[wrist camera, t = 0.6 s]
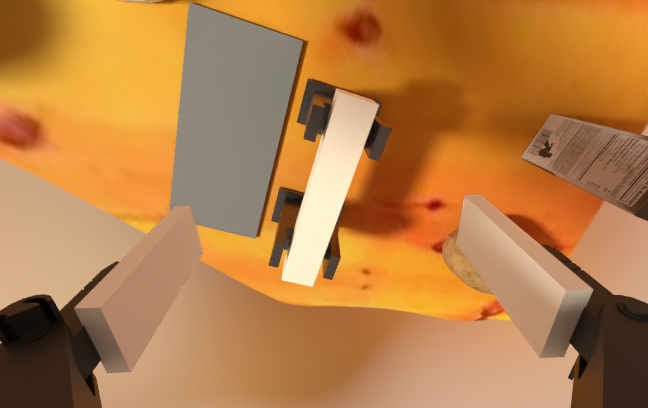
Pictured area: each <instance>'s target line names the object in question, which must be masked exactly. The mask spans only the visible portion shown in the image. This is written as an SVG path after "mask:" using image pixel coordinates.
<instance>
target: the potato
mask: <svg viewBox="0 0 648 408" xmlns="http://www.w3.org/2000/svg"><path fill="white" fill-rule="evenodd" d="M458 230H459V229H457V230H455V231H454V232H452V233H451V234H449V235H448V237H447V238H446V240H445V242H444V244H443V245H442V251H443V259H444V261H445V263H446V265H447V266H448V267H449V269H450V270H451V271H452V273H454V274H455V275H456V276H457V277H458V278H459V279H461V280H462V281H463V282H464V283H466V284H467V285H468V286H470V287H472V288H473V289H476V290H478V291H480V292H482V293H486V294H492V292H491V291H490V289H489V288H488V287H487V285H486V284H485V283H484V281H483V280H482V279H481V277H480V276H479V275H478V273H477V272H476V270H475V269H474V268H473V266H472V265H471V264H470V262H469V261H468V260H467V258H466V257H465V255H464V254H463V253H462V251H461V250H460V249H459V247H458V246H457V245H456V241H457V235H458Z"/></svg>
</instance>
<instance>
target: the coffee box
mask: <svg viewBox="0 0 648 408" xmlns="http://www.w3.org/2000/svg"><path fill="white" fill-rule="evenodd" d="M521 158H522V159H523V160H525V161H527V162H529V163H531V164H533V165H535V166H537V167H539V168H541V169H543V170H545V171H547V172H549V173H551V174H553V175H555V176H557V177H559V178H561V179H563V180H565V181H567V182H569V183H571V184H573V185H575V186H577V187H579V188H581V189H583V190H585V191H587V192H589V193H591V194H592V195H594V196H596V197H598V198H601V199H603V200H605V201H607V202H609V203H611V204H613V205H615V206H617V207H619V208H621V209H623V210H625V211H627V212H629V213H631V214H633V215H635V216H637V217H639V218H641V219H644V220H647V221H648V136H644V135H640V134H635V133H631V132H627V131H623V130H619V129H615V128H611V127H607V126H602V125H598V124H594V123H590V122H586V121H582V120H578V119H574V118H570V117H565V116H561V115H556V114H550V116H549V117H548V118H547V120H546V121H545V123H544V124H543V126H542V127H541V129H540V130H539V131H538V133H537V134H536V136H535V137H534V139H533V140H532V142H531V143H530V144H529V146H528V147H527V149H526V150H525V152H524V153H523V155H522V156H521Z"/></svg>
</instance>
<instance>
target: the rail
mask: <svg viewBox="0 0 648 408" xmlns="http://www.w3.org/2000/svg"><path fill="white" fill-rule="evenodd" d="M378 107H379V104H377V103H376V102H375V101H373V100H372V99H369V98H366V97H363V96H359V95H356V94H353V93H350V92H347V91H344V90H341V89H338V88H336V91H335V94H334V98H333V101H332V104H331V108H330V111H329V114H328V118H327V121H326V124H325V128H324V131H323V134H322V138H321V141H320V144H319V148H318V151H317V154H316V158H315V161H314V164H313V168H312V171H311V174H310V178H309V181H308V184H307V188H306V191H305V194H304V198H303V201H302V204H301V208H300V211H299V214H298V217H297V221H296V224H295V227H294V231H293V234H292V237H291V241H290V244H289V247H288V251H287V254H286V257H285V261H284V267H283V274H282V280H284V281H288V282H293V283H298V284H302V285H307V286H311V287H313V285H314V282H315V279H316V276H317V274H318V271H319V268H320V265H321V263H322V260H323V257H324V254H325V252H326V249H327V246H328V244H329V241H330V238H331V235H332V233H333V230H334V227H335V224H336V222H337V219H338V216H339V213H340V211H341V208H342V205H343V202H344V200H345V197H346V194H347V191H348V189H349V186H350V183H351V181H352V178H353V175H354V172H355V170H356V167H357V164H358V161H359V159H360V156H361V153H362V150H363V148H364V145H365V142H366V139H367V137H368V134H369V131H370V129H371V126H372V123H373V120H374V118H375V115H376V112H377V109H378Z"/></svg>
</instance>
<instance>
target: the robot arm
mask: <svg viewBox="0 0 648 408" xmlns="http://www.w3.org/2000/svg"><path fill="white" fill-rule="evenodd" d="M456 245H457V246H458V247H459V249H460V250H461V251H462V253H463V254H464V255H465V257H466V258H467V260H468V261H469V262H470V264H471V265H472V266H473V268H474V269H475V270H476V272H477V273H478V275H479V276H480V277H481V279H482V280H483V281H484V283H485V284H486V285H487V287H488V288H489V289H490V291H491V292H492V294H493V295H494V296H495V298H496V299H497V300H498V302H499V303H500V304H501V306H502V307H503V309H504V310H505V311H506V313H507V314H508V315H509V317H510V318H511V319H512V321H513V322H514V323H515V325H516V326H517V328H518V329H519V330H520V332H521V333H522V334H523V336H524V337H525V338H526V340H527V341H528V343H529V344H530V345H531V347H532V348H533V349H534V351H535V352H536V353H537V355H538V356H539V357H540V358H548V357H564V355H565V353H566V351H567V348H568V346H569V344H571V345H572V346H573V347H574V348H575V349H576V350H577V351H578V353H579V355H578V358H577V359H576V362H575V364H574V366H573V368H572V370H571V372H570V374H569V377H568V378H569V379H571V380H573V378H574V382H573V392H572V402H571V408H648V304H647V303H645V302H642V301H640V300H637V299H635V298H631V297H627V296H623V295H613V294H612V293H611V292H610V291H608V290H607V289H606V288H604V287H603V286H602V285H601V284H600V283H598V282H597V281H596V280H595V279H593V278H592V277H591V276H590V275H588V274H587V273H586V272H585V271H583V270H581V268H580V267H578V266H577V265H576V264H575V263H572V261H571V260H570V259H568V258H567V257H566V256H565V255H563V254H562V253H561V252H559V251H557V250H555V249H553V248H551V247H549V246H547V245H540V244H539V243H538V242H537V241H535V240H534V239H533V238H532V237H531V236H529V235H528V234H527V233H526V232H525V231H523V230H522V229H521V228H520V227H519V226H518V225H516V224H515V223H514V222H513V221H512V220H510V219H509V218H508V217H507V216H506V215H504V214H503V213H502V212H501V211H500V210H499V209H497V208H496V207H495V206H494V205H493V204H491V203H490V202H489V201H488V200H487V199H486V198H484V197H483V196H482V195H481V194H479V195H465V196H464V201H463V207H462V213H461V218H460V224H459V230H458V235H457V241H456ZM202 254H203V252H202V248H201V244H200V240H199V236H198V232H197V228H196V224H195V220H194V216H193V212H192V208H191V206H175V207H174V208H173V209H172V210H171V211H170V212H169V213H168V214H167V215H166V216H165V217H164V218H163V219H162V220H161V221H160V222H159V223H158V224H157V225H156V226H155V227H154V228H153V229H152V230H151V231H150V232H149V233H148V234H147V235H146V236H145V237H144V238H143V239H142V240H141V241H140V242H139V243H138V244H137V245H136V246H135V247H134V248H133V249H132V250H131V251H130V252H129V253H128V254H127V255H126V256H125V257H124V258H123V259H122V260H121V261H120V262H115V263H113V264H111V265H110V266H108V267H107V268H105V269H103V270H102V271H101V272H100V273H99V274H98V275H97V276H96V277H95V278H93V279H92V282H89V283H88V284H87V285H86V286H85V287H84V290H81V291H80V292H79V293H78V294H77V295H76V296H75V297H74V298H73V299H72V300H71V301H70V302H69V303H68V304H67V305H66V306H64V307H63V308H62V310H60V311H59V310H58V308H57V306H56V304H55V303H54V301H53V299H52V298H51V296H49V295H44V294H43V295H34V296H31V297H27V298H24V299H21V300H19V301H17V302H15V303H12V304H10V305H9V306H7V307H6V308H4V309H2V310H1V311H0V341H1V342H2V343H1V344H0V408H102V406H101V400H100V395H99V390H98V384H97V379H96V377H95V375H94V374H93V370H94V369H95V367H96V366H97V365H98V363H99V362H100V361H101V362H102V364H103V366H104V368H105V370H106V372H107V373H118V372H131V371H132V369H133V368H134V366H135V364H136V363H137V361H138V359H139V358H140V356H141V354H142V353H143V351H144V349H145V348H146V346H147V345H148V343H149V341H150V340H151V338H152V336H153V335H154V333H155V331H156V330H157V328H158V326H159V325H160V323H161V321H162V320H163V318H164V316H165V315H166V313H167V312H168V310H169V308H170V307H171V305H172V303H173V301H174V300H175V298H176V297H177V295H178V293H179V292H180V290H181V288H182V287H183V285H184V283H185V282H186V280H187V279H188V277H189V275H190V274H191V272H192V270H193V269H194V267H195V265H196V264H197V262H198V260H199V259H200V257H201V255H202Z"/></svg>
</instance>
